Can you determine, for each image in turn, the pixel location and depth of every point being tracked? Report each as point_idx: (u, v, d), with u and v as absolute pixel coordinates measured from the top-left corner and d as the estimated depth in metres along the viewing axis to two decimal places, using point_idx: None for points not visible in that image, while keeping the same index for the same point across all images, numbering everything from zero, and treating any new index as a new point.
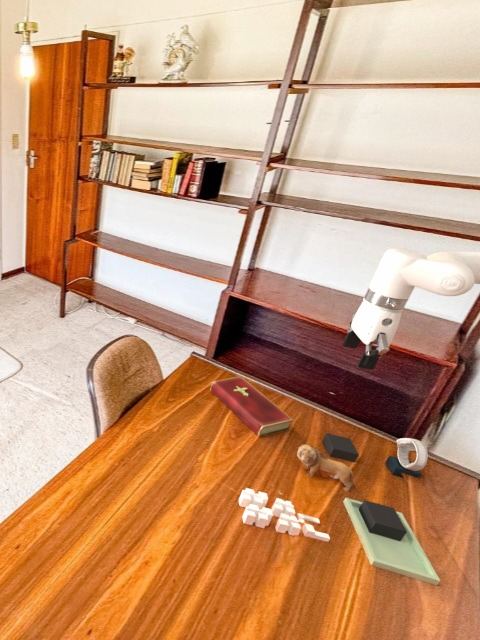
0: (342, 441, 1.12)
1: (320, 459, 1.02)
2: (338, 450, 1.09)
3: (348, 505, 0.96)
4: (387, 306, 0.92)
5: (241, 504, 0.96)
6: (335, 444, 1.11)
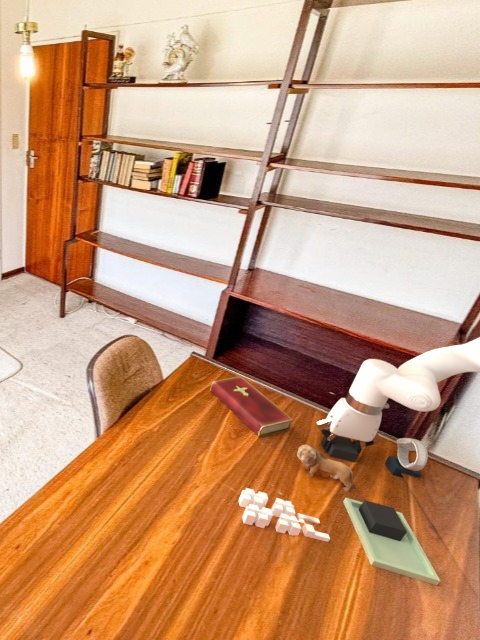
0: (342, 441, 1.12)
1: (320, 459, 1.02)
2: (338, 450, 1.09)
3: (348, 505, 0.96)
4: None
5: (241, 504, 0.96)
6: (335, 444, 1.11)
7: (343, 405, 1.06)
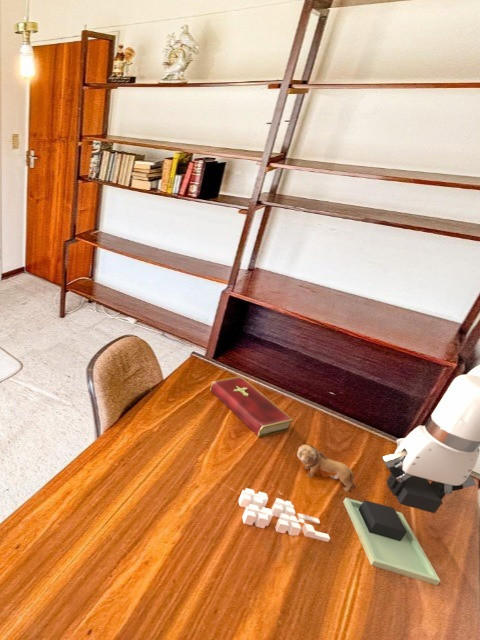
0: (417, 482, 0.84)
1: (320, 459, 1.02)
2: (414, 495, 0.81)
3: (348, 505, 0.96)
4: None
5: (241, 504, 0.96)
6: (408, 486, 0.83)
7: (423, 436, 0.78)
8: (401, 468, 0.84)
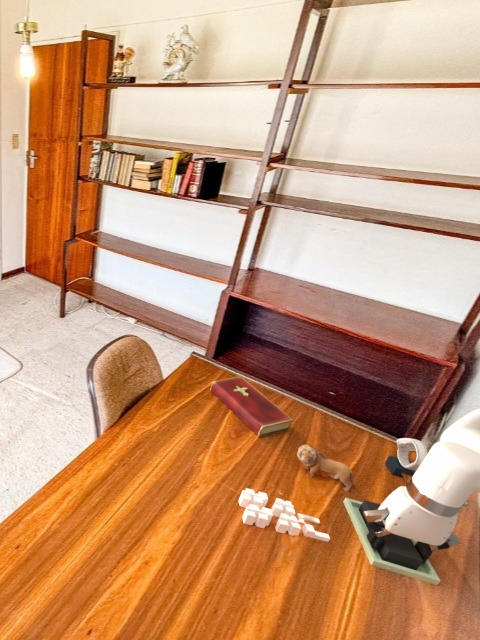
0: (398, 539, 0.86)
1: (320, 459, 1.02)
2: (395, 554, 0.84)
3: (348, 505, 0.96)
4: None
5: (241, 504, 0.96)
6: (390, 543, 0.85)
7: (404, 498, 0.81)
8: (381, 523, 0.86)
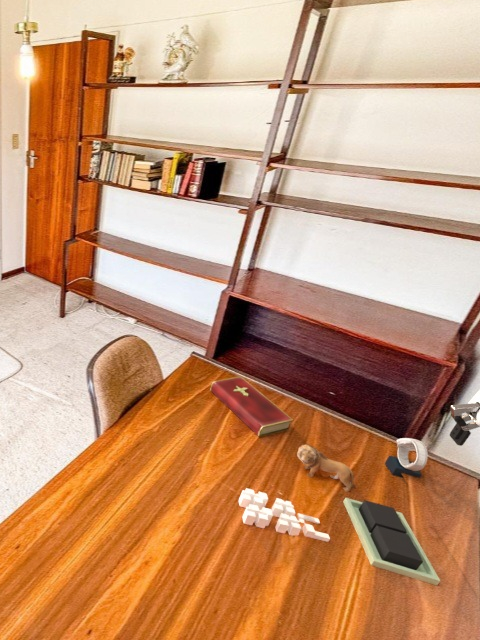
0: (398, 539, 0.86)
1: (320, 459, 1.02)
2: (395, 554, 0.84)
3: (348, 505, 0.96)
4: None
5: (241, 504, 0.96)
6: (390, 543, 0.85)
7: None
8: (467, 419, 0.84)
